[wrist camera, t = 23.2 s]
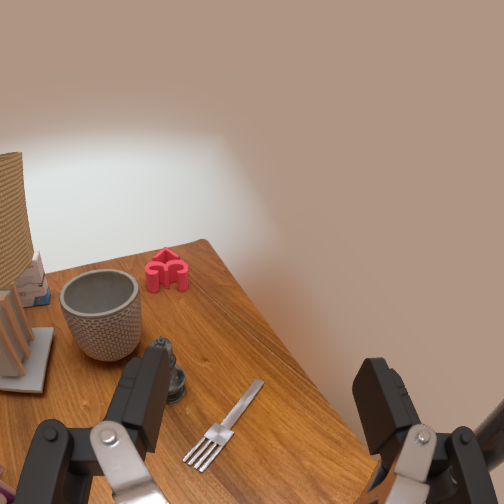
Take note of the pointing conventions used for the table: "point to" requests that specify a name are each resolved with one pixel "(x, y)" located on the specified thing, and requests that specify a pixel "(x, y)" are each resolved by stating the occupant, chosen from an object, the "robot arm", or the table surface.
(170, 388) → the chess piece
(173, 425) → the table surface
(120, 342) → the planter
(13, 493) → the greeting card
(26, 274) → the ink box
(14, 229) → the desk lamp
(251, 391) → the fork
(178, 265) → the letters
